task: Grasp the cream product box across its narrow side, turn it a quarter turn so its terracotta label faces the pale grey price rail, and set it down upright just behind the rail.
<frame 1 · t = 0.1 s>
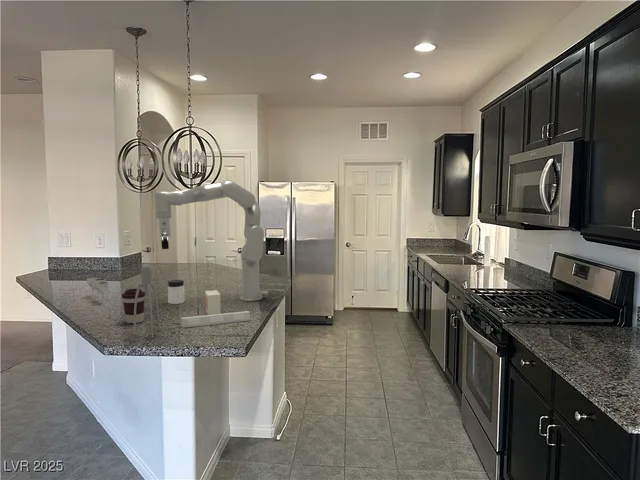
hand: (165, 248, 228), 31 cm above the countertop, tool pointing down, fingers open, 9 cm apart
goblet set: (98, 301, 246), on the countertop
price rail: (216, 323, 198), on the countertop
coffee cup: (134, 322, 202), on the countertop
product box: (213, 312, 218), on the countertop
juicer: (145, 334, 183), on the countertop
jar: (176, 302, 240), on the countertop
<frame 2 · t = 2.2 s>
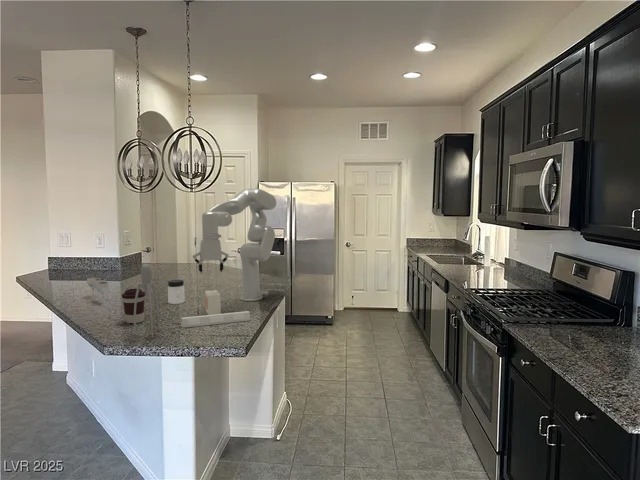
hand: (211, 271, 216), 21 cm above the countertop, tool pointing down, fingers open, 9 cm apart
nothing on the countertop moved.
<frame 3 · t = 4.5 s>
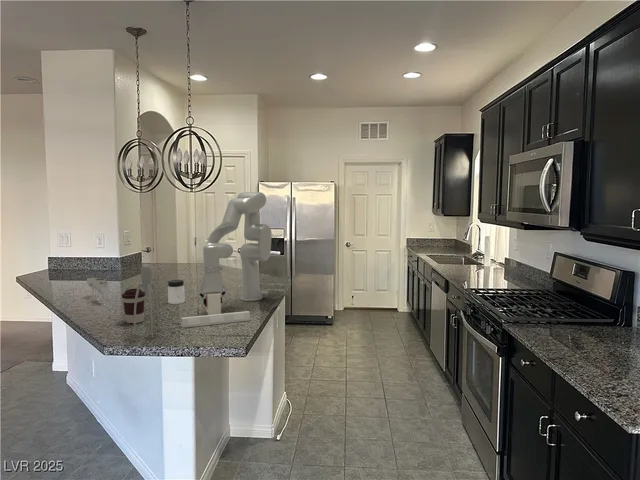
hand: (212, 305, 218), 4 cm above the countertop, tool pointing down, fingers closed on product box, 6 cm apart
product box: (213, 312, 218), on the countertop, touching gripper
everything else where it was.
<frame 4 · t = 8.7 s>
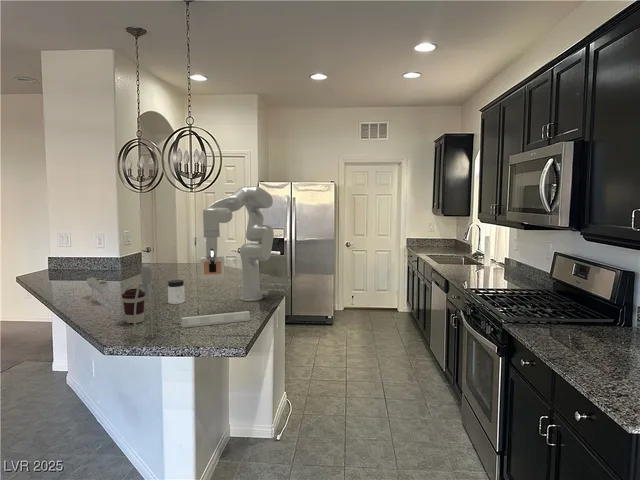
hand: (212, 270, 211), 22 cm above the countertop, tool pointing down, fingers closed on product box, 6 cm apart
product box: (212, 278, 212), point 18 cm above the countertop, touching gripper
everything else where it was.
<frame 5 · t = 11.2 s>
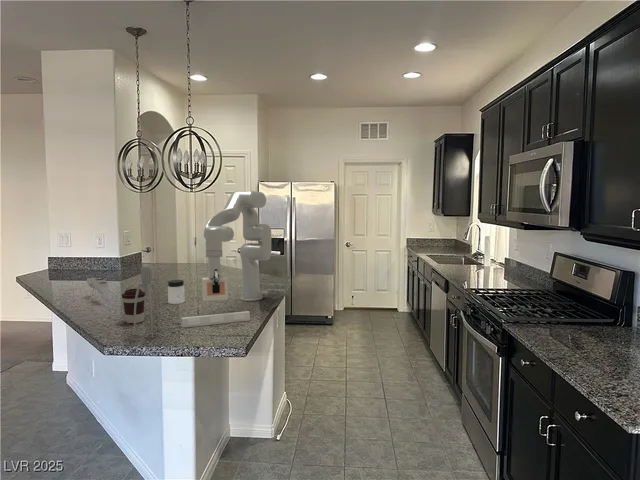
hand: (215, 291, 205), 13 cm above the countertop, tool pointing down, fingers closed on product box, 6 cm apart
product box: (215, 298, 206), point 9 cm above the countertop, touching gripper
everything else where it was.
when the fingers open (5 cm above the countertop, at t = 13.2 s): product box drops 1 cm, on the countertop.
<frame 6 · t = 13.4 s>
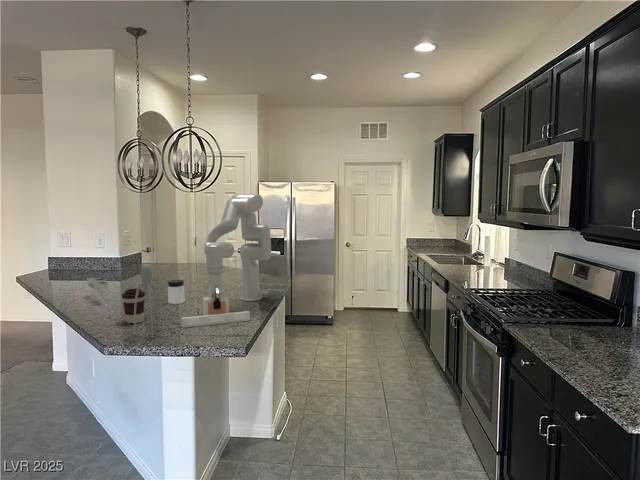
hand: (215, 306, 206), 6 cm above the countertop, tool pointing down, fingers open, 8 cm apart
product box: (216, 318, 207), on the countertop
everything else where it was.
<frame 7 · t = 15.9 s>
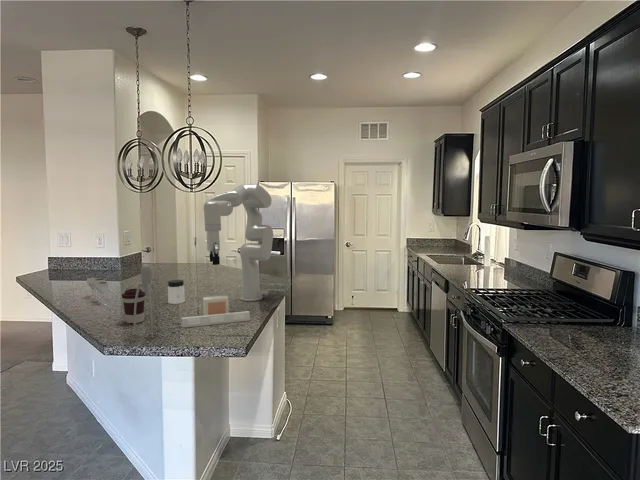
hand: (214, 263, 210), 26 cm above the countertop, tool pointing down, fingers open, 9 cm apart
nothing on the countertop moved.
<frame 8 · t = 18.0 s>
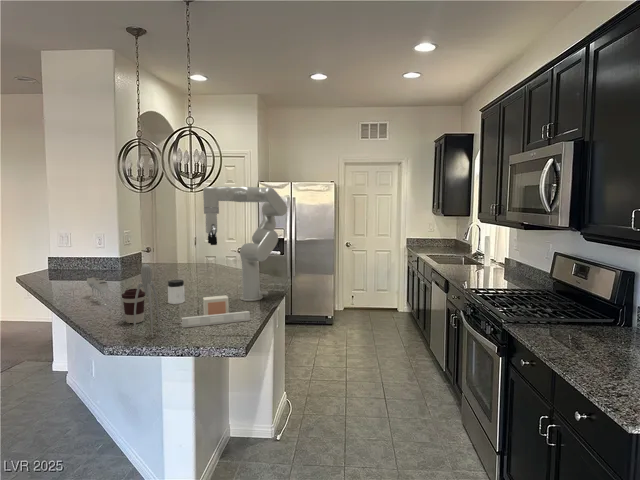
hand: (212, 244, 225), 33 cm above the countertop, tool pointing down, fingers open, 9 cm apart
nothing on the countertop moved.
at the end: product box 0.2 cm from the target spot on the countertop beside the price rail, on the countertop; product box tilted 0°; the gripper is holding nothing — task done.
